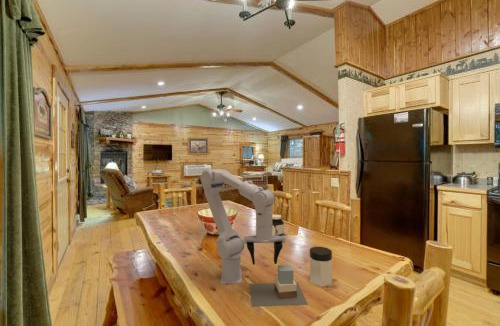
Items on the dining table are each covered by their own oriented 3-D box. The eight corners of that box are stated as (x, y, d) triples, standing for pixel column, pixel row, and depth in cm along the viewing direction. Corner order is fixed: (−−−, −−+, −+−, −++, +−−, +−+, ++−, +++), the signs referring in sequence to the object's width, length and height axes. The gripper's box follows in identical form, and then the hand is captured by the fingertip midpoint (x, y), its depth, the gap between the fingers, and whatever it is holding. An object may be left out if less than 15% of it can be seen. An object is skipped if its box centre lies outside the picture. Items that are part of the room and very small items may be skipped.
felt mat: (249, 284, 92) (249, 283, 92) (297, 283, 93) (297, 282, 93) (251, 307, 78) (251, 306, 78) (308, 305, 79) (308, 304, 79)
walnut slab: (274, 289, 88) (274, 283, 88) (290, 287, 89) (290, 281, 89) (280, 299, 82) (279, 292, 82) (296, 296, 83) (296, 290, 83)
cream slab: (274, 283, 88) (274, 277, 88) (291, 281, 89) (290, 275, 89) (279, 292, 82) (279, 285, 82) (296, 290, 83) (296, 284, 83)
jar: (336, 281, 94) (336, 250, 94) (326, 290, 88) (326, 256, 88) (315, 274, 100) (315, 244, 100) (304, 281, 94) (304, 250, 94)
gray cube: (277, 277, 88) (277, 265, 87) (290, 277, 88) (290, 264, 88) (280, 284, 83) (280, 271, 83) (293, 283, 83) (293, 270, 83)
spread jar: (283, 232, 155) (283, 214, 154) (284, 238, 144) (284, 218, 143) (264, 232, 156) (264, 214, 156) (263, 238, 145) (263, 218, 144)
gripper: (243, 228, 82) (244, 268, 83) (286, 227, 83) (287, 267, 83) (243, 222, 90) (243, 260, 90) (283, 222, 90) (283, 259, 90)
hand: (264, 263), depth 87 cm, fingers open, 7 cm apart
